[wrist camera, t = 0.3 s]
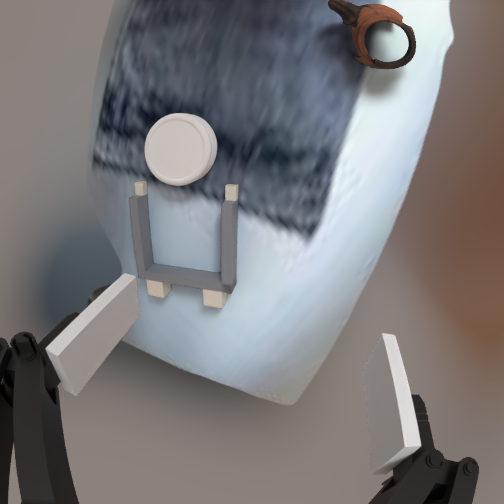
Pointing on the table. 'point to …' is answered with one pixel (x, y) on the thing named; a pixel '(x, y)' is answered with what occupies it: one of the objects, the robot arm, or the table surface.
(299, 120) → the table surface
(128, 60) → the table surface
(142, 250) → the grey u-shaped frame
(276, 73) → the table surface
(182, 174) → the white round disc
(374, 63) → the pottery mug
